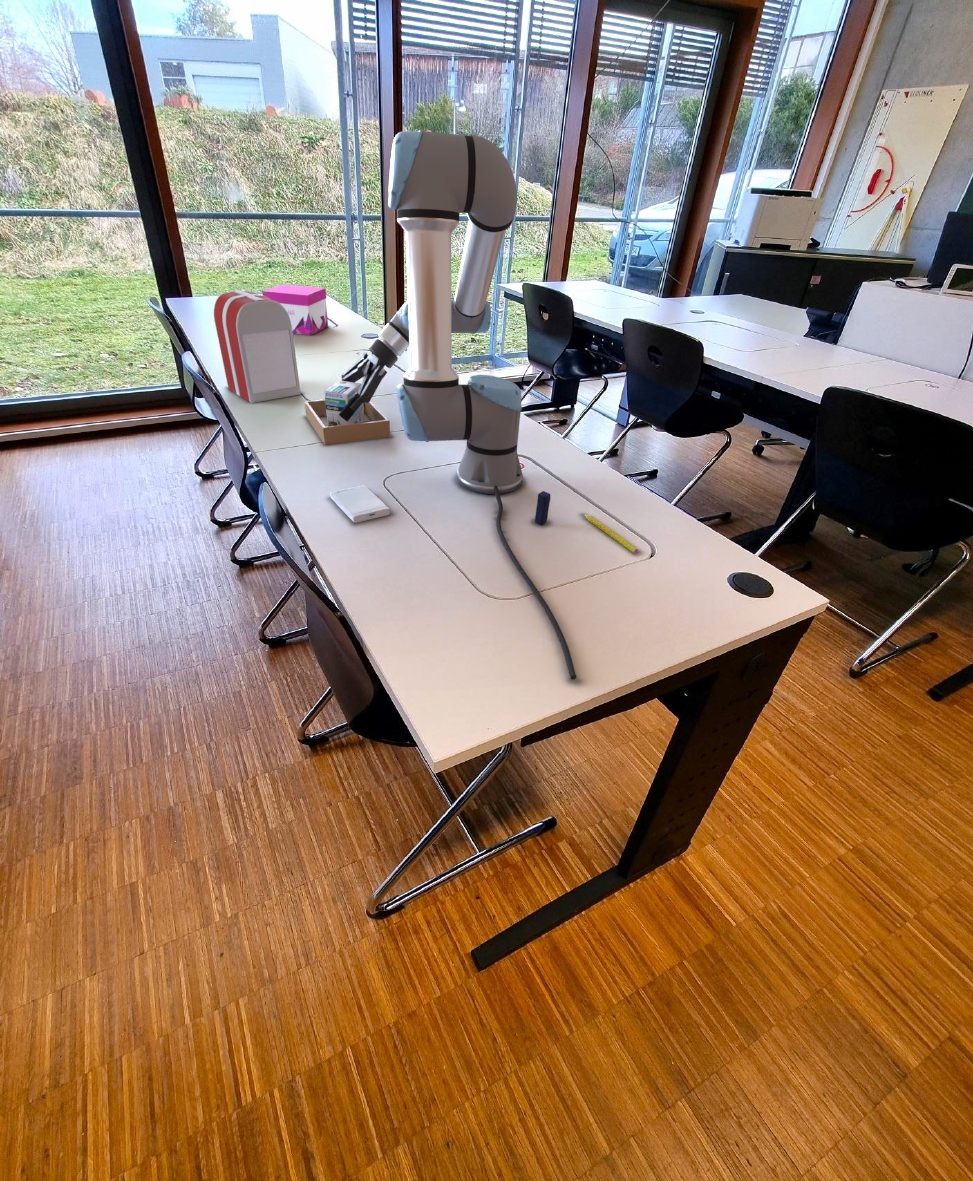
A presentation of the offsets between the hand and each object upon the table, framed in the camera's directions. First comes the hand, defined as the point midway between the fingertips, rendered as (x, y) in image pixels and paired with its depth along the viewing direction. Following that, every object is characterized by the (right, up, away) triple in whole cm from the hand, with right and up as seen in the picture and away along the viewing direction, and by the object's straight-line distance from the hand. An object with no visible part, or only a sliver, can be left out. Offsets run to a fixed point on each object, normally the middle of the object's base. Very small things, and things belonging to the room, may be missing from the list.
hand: (336, 410), depth 157 cm
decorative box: (-40, +64, +93) cm, 119 cm away
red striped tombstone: (-29, +14, +25) cm, 40 cm away
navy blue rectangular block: (+52, -34, -34) cm, 71 cm away
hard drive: (+13, -31, -32) cm, 47 cm away
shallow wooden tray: (+2, -3, +4) cm, 5 cm away
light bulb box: (+2, -3, +4) cm, 5 cm away
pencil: (+66, -37, -36) cm, 84 cm away
